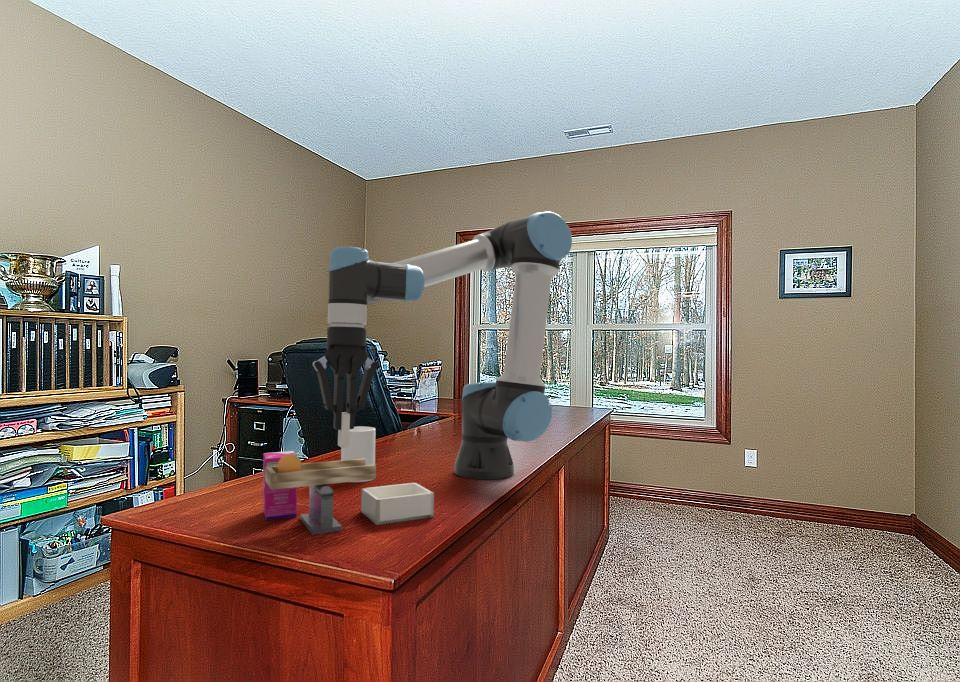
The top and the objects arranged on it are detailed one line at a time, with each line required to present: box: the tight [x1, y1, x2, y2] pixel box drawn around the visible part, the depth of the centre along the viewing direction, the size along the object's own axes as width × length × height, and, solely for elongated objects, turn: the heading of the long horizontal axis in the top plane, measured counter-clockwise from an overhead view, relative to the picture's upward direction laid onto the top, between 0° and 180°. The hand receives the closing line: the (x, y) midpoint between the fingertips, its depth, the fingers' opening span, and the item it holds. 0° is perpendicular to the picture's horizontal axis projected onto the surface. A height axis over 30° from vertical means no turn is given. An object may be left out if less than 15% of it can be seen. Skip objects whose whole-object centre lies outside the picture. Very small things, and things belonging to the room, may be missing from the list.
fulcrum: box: [299, 484, 343, 536], centre depth 103 cm, size 5×10×8 cm, turn 29°
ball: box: [278, 454, 303, 473], centre depth 100 cm, size 4×4×4 cm
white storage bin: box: [360, 482, 435, 526], centre depth 110 cm, size 11×9×4 cm
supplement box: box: [262, 450, 298, 521], centre depth 109 cm, size 6×6×12 cm
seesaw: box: [265, 458, 377, 490], centre depth 106 cm, size 18×13×2 cm
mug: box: [340, 425, 377, 483], centre depth 141 cm, size 12×8×12 cm
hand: (343, 446), depth 113 cm, fingers closed
